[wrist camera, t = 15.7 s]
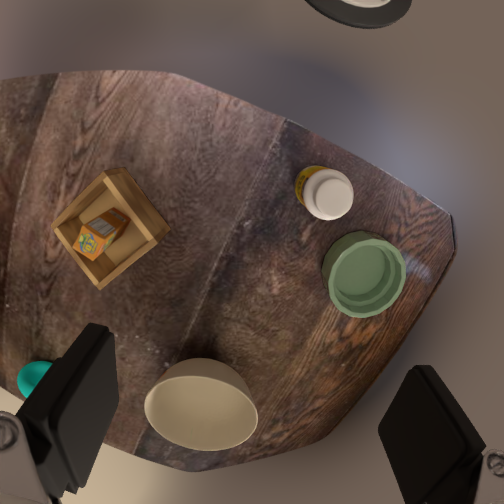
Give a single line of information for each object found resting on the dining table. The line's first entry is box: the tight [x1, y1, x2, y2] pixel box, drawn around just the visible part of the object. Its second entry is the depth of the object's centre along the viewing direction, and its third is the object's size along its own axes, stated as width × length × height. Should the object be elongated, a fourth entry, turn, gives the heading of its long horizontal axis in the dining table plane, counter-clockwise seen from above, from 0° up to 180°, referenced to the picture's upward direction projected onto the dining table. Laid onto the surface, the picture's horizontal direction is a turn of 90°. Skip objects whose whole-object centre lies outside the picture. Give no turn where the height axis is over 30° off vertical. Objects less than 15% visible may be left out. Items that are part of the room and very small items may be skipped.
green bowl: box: [321, 231, 406, 318], centre depth 42 cm, size 11×11×4 cm
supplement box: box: [72, 207, 131, 261], centre depth 36 cm, size 3×3×10 cm
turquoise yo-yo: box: [17, 361, 53, 398], centre depth 46 cm, size 10×10×10 cm
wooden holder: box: [51, 167, 171, 290], centre depth 39 cm, size 11×11×7 cm
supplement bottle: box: [294, 165, 353, 220], centre depth 36 cm, size 6×6×10 cm
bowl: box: [144, 358, 258, 451], centre depth 45 cm, size 16×16×10 cm
